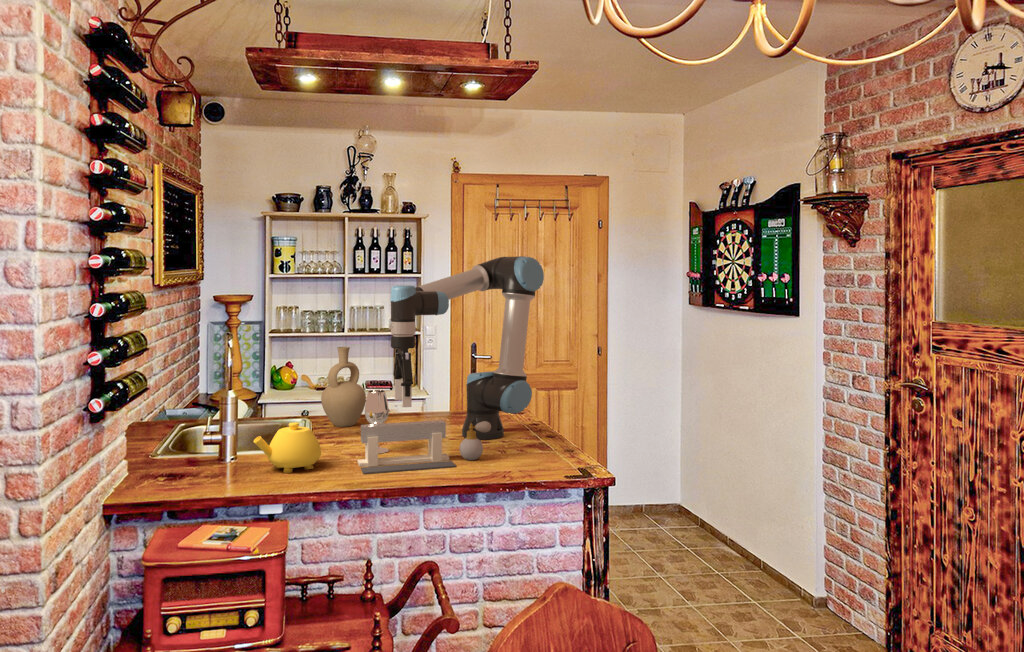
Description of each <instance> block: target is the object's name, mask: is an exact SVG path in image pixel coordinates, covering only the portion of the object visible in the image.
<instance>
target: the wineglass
mask: <svg viewBox="0 0 1024 652" xmlns="http://www.w3.org/2000/svg"><path fill="white" fill-rule="evenodd" d="M389 411H390V409H389V403H388V398H387V394H386V391H385V390H383V389H372V390H371V389H370V390H368V391H367V396H366V403H365V407H364V417H365V420H366V421H367V422H368V423H369V424H385V422H386V421H387V419H388V417H389V416H390V415H389V413H390V412H389ZM388 452H389V448H386V447H381V446H380V445H379V444H378V455H381V454H384V453H385V454H386V453H388Z"/></svg>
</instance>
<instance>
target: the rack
mask: <svg viewBox="0 0 1024 652" xmlns="http://www.w3.org/2000/svg"><path fill="white" fill-rule="evenodd" d="M427 440H428V441H427V443H428V445H427V447H428V454H420V455H419V454H418V455H405V456H392V457H379V454H378V445H379V442H378V436H376V437H368V443H364V445H365V449H364V450H365V453H364V454H365V455H364V457H365V458H362V459H357V465H358V466H359V467H360V468H363V467H376V466H390V465H403V464H417V463H430V462H443V461H450V456H449V455H448V454H447V453H443V438H442V433H441V432H440V433H432V439H427Z"/></svg>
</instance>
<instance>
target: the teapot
mask: <svg viewBox="0 0 1024 652" xmlns="http://www.w3.org/2000/svg"><path fill="white" fill-rule="evenodd" d="M253 443H254V444H255V445H256V446H257V447H258V448H259V449H260V450H261V451H262V453H264V454H265V455H266V456H267V459H268V461H269V462H270V463H271V464H272V466H275V468H276V469H283V471H282V473H284V474H291V473H293V470H294V468H304V470H306V469H312V470H314V469H315V466H313V465H314V464H316V463H317V462H318V460H319V459H320V458H321V456H322V450H321V449H322V448H321V446H320V443H319V440H318V439H317V437H316V435H315V434H314V432H313V430H311V429H310V427H307V426H300V423H299V422H295V421H294V422H289V423H288V426H287V427H282V428H279V429H278V430H277V432H276V433H275V434H274V436H273V438H272V440H271V441H270V443H269V444H268V442H266V441H265V440H264V438H262V436H259V435H258V436H256V438H254V440H253ZM313 468H314V469H313Z"/></svg>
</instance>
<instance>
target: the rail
mask: <svg viewBox="0 0 1024 652" xmlns="http://www.w3.org/2000/svg"><path fill="white" fill-rule="evenodd" d="M446 425H447V422H446V421H444V420H443V419H442V420H440V419H439V420H422V421H421V420H420V421H409V422H408V421H407V422H391V423H387V422H386V423H383V424H370V423H369V424H360V442H361V444H365V443H368V437H376V436H378V443H388V442H389V443H391V442H392V443H393V442H405V441H407V442H408V441H419V440H420V441H421V440H422V441H423V440H428V439H432V433H440V432H441V433H442V439H446V437H447V433H446V431H447V430H446V429H447V426H446Z"/></svg>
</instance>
